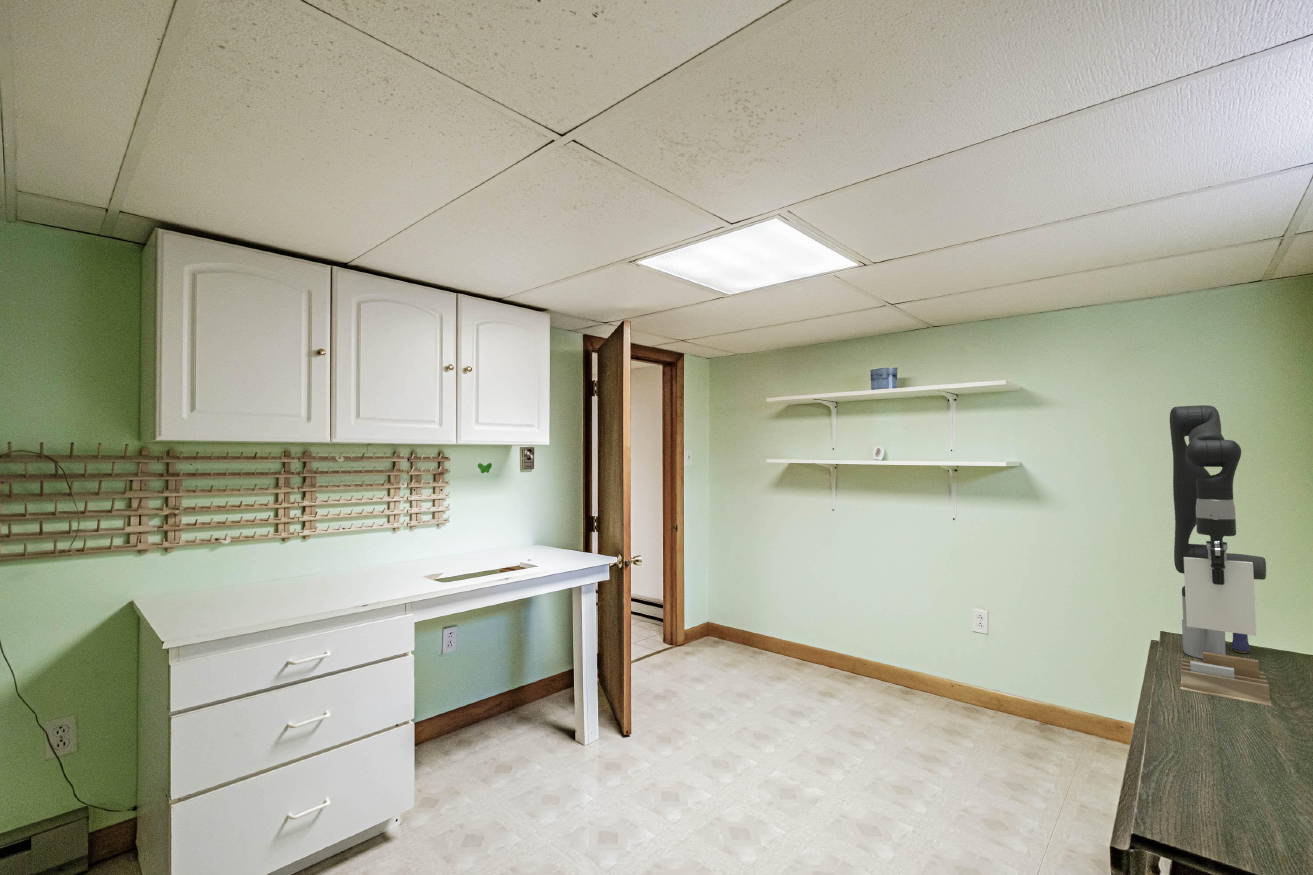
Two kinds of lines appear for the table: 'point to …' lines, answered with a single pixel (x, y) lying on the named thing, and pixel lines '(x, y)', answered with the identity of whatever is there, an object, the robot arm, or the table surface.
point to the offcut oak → (1234, 664)
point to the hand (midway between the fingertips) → (1218, 583)
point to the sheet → (1220, 596)
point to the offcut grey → (1212, 669)
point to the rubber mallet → (1259, 573)
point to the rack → (1226, 685)
